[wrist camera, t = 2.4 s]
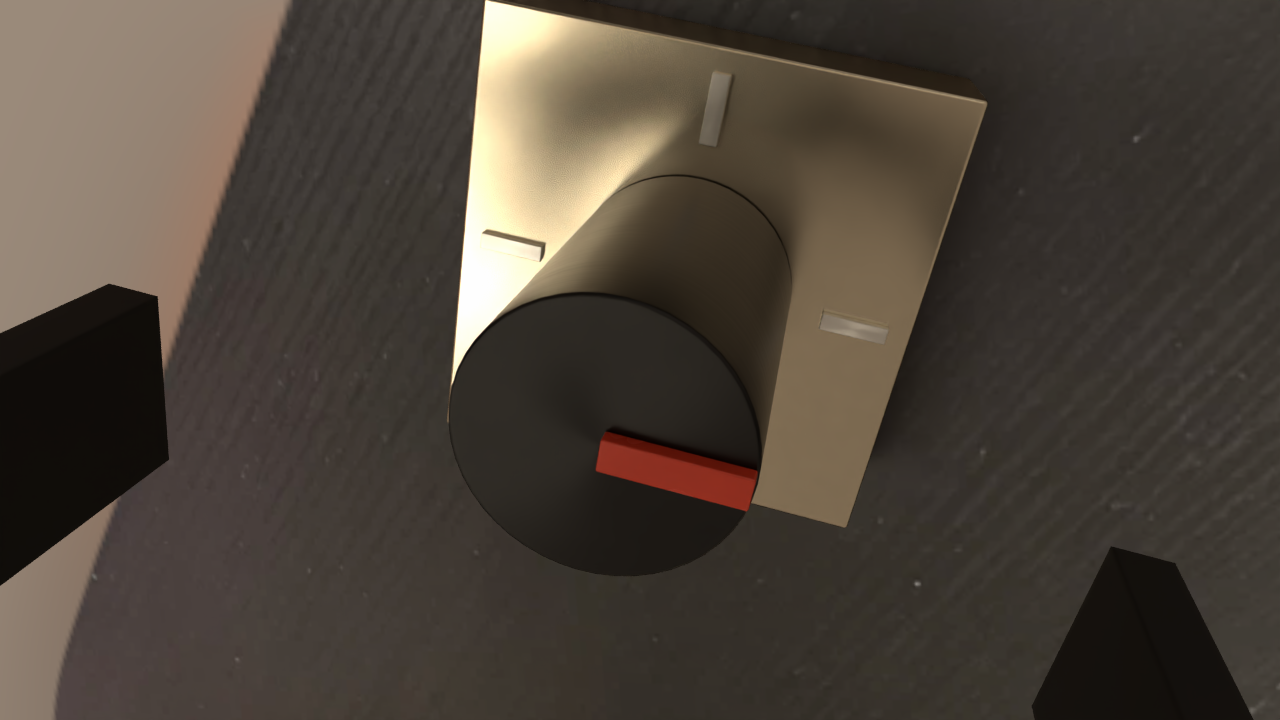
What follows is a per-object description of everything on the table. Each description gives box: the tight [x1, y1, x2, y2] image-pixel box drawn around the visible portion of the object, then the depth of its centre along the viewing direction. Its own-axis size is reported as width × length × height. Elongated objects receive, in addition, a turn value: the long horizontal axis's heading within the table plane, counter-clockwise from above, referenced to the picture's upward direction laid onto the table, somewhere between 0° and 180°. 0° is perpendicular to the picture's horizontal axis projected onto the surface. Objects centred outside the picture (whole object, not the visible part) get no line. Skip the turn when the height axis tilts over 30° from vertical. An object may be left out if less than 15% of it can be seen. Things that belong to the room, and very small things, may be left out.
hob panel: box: [447, 0, 988, 528], centre depth 21 cm, size 10×10×3 cm
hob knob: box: [449, 176, 792, 576], centre depth 17 cm, size 5×5×7 cm
